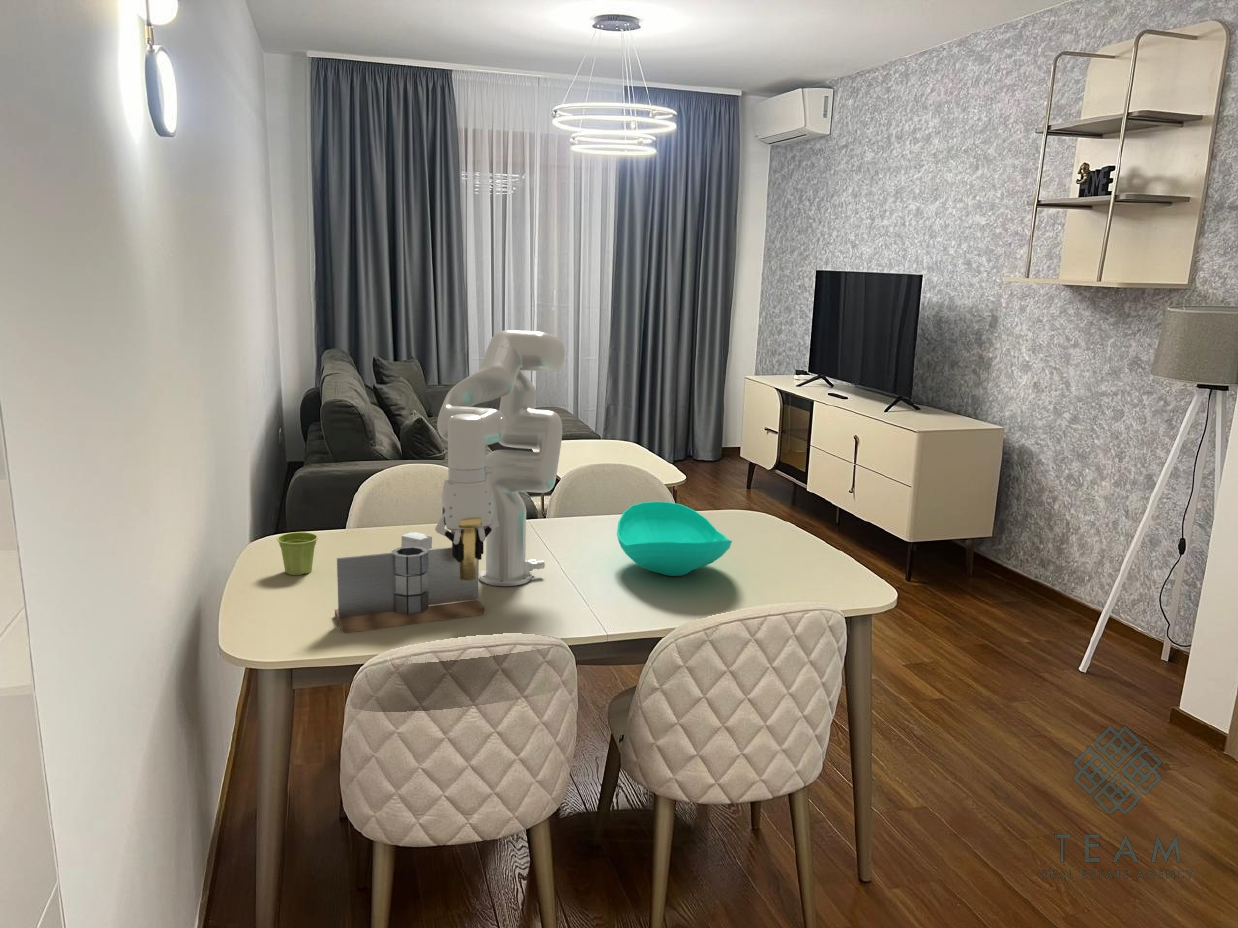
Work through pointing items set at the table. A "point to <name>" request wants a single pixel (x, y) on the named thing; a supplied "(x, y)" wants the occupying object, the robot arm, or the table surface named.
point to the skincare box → (417, 540)
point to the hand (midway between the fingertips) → (467, 558)
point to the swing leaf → (439, 580)
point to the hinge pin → (469, 549)
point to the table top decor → (669, 538)
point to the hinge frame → (380, 583)
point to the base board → (411, 616)
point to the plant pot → (297, 552)
